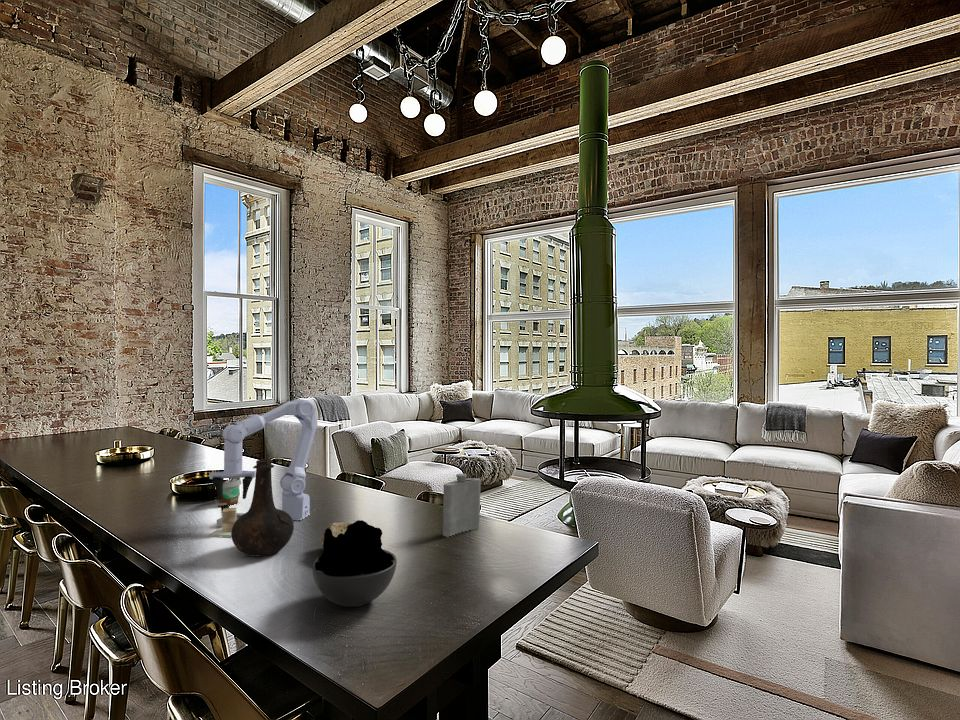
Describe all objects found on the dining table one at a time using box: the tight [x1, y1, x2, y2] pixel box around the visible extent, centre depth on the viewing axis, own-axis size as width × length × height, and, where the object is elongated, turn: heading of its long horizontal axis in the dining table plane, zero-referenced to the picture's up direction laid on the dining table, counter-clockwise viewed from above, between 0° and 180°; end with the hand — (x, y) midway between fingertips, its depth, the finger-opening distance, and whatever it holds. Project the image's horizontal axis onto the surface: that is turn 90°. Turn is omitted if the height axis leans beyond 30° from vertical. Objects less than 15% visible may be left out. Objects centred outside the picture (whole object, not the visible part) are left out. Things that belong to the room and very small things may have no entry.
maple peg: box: [221, 507, 237, 533], centre depth 174 cm, size 4×4×7 cm
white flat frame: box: [215, 512, 246, 528], centre depth 183 cm, size 14×9×2 cm, turn 83°
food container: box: [217, 478, 242, 508], centre depth 208 cm, size 12×6×10 cm, turn 179°
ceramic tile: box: [208, 527, 231, 538], centre depth 173 cm, size 9×8×1 cm
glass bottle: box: [230, 458, 295, 557], centre depth 158 cm, size 18×18×28 cm
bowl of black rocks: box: [311, 519, 398, 608], centre depth 125 cm, size 20×20×19 cm
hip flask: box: [442, 473, 481, 538], centre depth 179 cm, size 16×4×20 cm, turn 133°
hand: (232, 498), depth 178 cm, fingers open, 7 cm apart
